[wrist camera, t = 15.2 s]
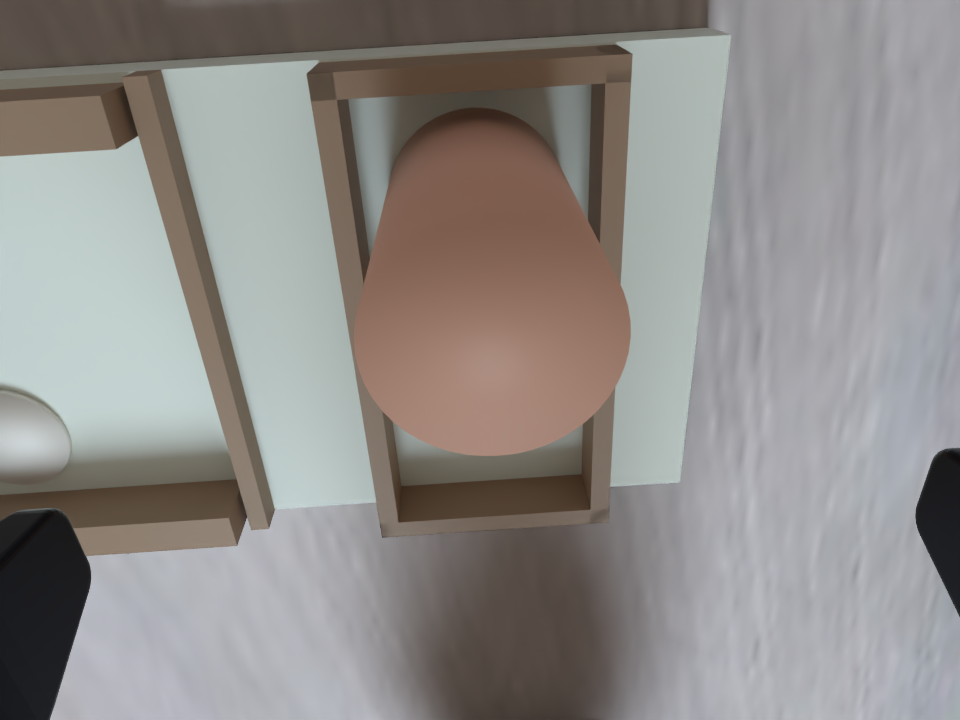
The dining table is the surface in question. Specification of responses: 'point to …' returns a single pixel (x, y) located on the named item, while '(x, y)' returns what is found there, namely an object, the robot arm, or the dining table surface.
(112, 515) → the board
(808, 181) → the dining table surface
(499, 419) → the tan brown cylinder
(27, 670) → the robot arm
